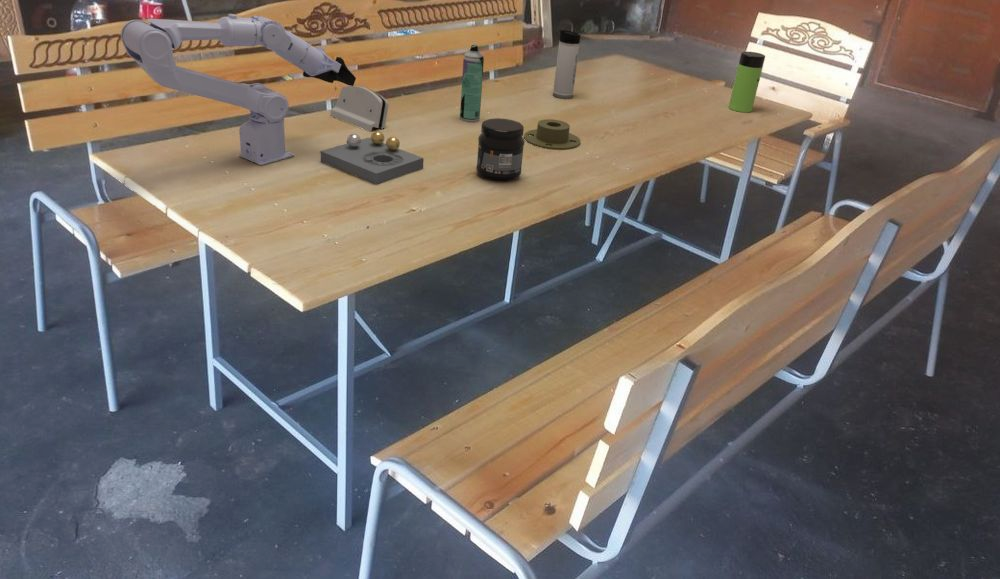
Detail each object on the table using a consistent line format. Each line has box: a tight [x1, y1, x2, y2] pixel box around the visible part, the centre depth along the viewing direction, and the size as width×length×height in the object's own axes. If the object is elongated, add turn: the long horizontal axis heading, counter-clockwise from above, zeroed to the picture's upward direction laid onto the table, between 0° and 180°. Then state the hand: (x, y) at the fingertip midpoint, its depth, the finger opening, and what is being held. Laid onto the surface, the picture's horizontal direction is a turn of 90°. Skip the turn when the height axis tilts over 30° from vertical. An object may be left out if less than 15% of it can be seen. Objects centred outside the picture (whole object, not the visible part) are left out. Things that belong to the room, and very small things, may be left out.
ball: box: [346, 133, 361, 148], centre depth 180 cm, size 3×3×3 cm
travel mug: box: [552, 29, 581, 100], centre depth 239 cm, size 6×7×20 cm
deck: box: [319, 137, 424, 185], centre depth 179 cm, size 18×15×2 cm
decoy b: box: [385, 136, 401, 151], centre depth 181 cm, size 3×3×3 cm
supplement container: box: [475, 117, 526, 183], centre depth 178 cm, size 10×10×12 cm
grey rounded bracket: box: [329, 85, 389, 133], centre depth 204 cm, size 17×5×10 cm, turn 50°
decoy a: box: [370, 130, 385, 145], centre depth 183 cm, size 3×3×3 cm
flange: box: [523, 118, 581, 151], centre depth 205 cm, size 5×15×15 cm
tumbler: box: [728, 51, 766, 113], centre depth 244 cm, size 8×8×17 cm
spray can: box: [459, 44, 485, 123], centre depth 210 cm, size 6×6×20 cm
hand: (343, 80), depth 184 cm, fingers open, 7 cm apart
